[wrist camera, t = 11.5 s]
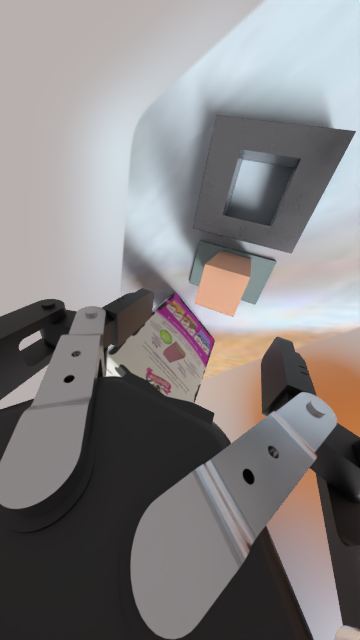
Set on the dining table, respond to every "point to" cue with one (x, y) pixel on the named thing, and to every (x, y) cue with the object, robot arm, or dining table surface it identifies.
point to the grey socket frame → (273, 148)
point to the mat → (259, 265)
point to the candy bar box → (166, 351)
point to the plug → (224, 282)
